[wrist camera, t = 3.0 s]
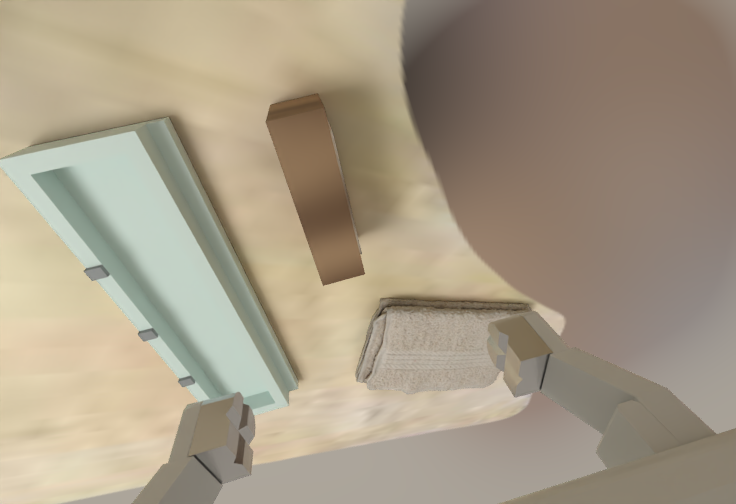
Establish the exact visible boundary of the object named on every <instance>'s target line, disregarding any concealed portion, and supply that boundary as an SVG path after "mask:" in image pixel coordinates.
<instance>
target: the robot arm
mask: <svg viewBox="0 0 736 504" xmlns="http://www.w3.org/2000/svg"><path fill="white" fill-rule="evenodd" d="M488 332H489V333H490V337H489V338H488V339H487V349H488V353H489V356H490V358H491V360H492V362H493V364H494V365H495V367H496V368H498V369H499V370H501V371H503V372H504V377H503V380H504V381H505V383H506V384H507V386H508V388H509V389H510V391H511V392H512V394H513V395H514V397H519V396H523V395H527V394H531V393H534V392H538V391H541V393H542V394H544V395H545V396H547V397H548V398H550V399H551V400H553V401H554V402H556V403H557V404H559V405H560V406H562V407H563V408H565V409H566V410H568V411H569V412H571V413H572V414H574V415H575V416H577V417H578V418H580V419H581V420H582V421H584V422H585V423H587V424H588V425H590V426H591V427H593V428H594V429H596V430H597V431H599V432H600V433H602V434H603V436H602V438H601V440H600V442H599V444H598V446H597V450H596V453H597V455H598V456H599V458H600V459H601V460H602V462H603V463H604V464H605V466H606V467H607V469H606V470H603V471H599V472H596V473H593V474H590V475H587V476H584V477H581V478H577V479H574V480H571V481H568V482H565V483H562V484H558V485H556V486H552V487H549V488H546V489H543V490H540V491H537V492H533V493H530V494H527V495H524V496H521V497H518V498H514V499H511V500H508V501H505V502H502V503H499V504H736V428H735V429H732V430H729V431H725V432H722V433H719V434H716V433H715V432H714V431H713V430H712V429H711V428H710V427H709V426H707V425H706V424H705V423H704V422H703V421H702V420H701V419H700V418H699V417H697V415H696V414H694V413H693V412H692V411H691V410H690V409H689V408H688V407H687V406H686V405H685V404H683V402H681V401H680V400H679V399H678V398H677V397H676V396H675V395H673V393H672V392H671V391H670V390H668V389H667V388H665V387H663V386H661V385H659V384H656V383H654V382H652V381H650V380H647V379H645V378H643V377H641V376H638V375H636V374H634V373H632V372H629V371H627V370H625V369H623V368H620V367H618V366H616V365H614V364H612V363H609V362H607V361H605V360H603V359H600V358H598V357H596V356H594V355H592V354H589V353H587V352H585V351H583V350H580V349H578V348H576V347H574V348H570V347H569V346H568V345H567V344H566V343H565V342H564V341H563V340H562V338H561V337H560V336H559V335H558V334H557V333H556V332H555V331H554V330H553V329H552V328H551V327H550V325H549V324H548V323H547V322H546V321H545V320H544V319H543V318H542V317H541V316H540V315H539V314H538V313H537V312H536V311H530V312H526V313H523V314H519V315H514V316H511V317H507V318H504V319H500V320H497V321H493V322H490V323H489V325H488ZM243 400H244V397H243V396H242V394H241V393H240V392H236V393H232V394H228V395H224V396H220V397H216V398H212V399H208V400H204V401H200V402H196V403H192V404H189V405H187V406H186V408H185V409H184V411H183V414H182V417H181V421H180V424H179V427H178V431H177V434H176V438H175V441H174V444H173V448H172V451H171V455H170V458H169V461H168V463H166V464H163V465H162V466H161V467H160V469H159V470H158V471H157V473H156V474H155V475H154V476H153V478H152V479H151V480H150V481H149V483H148V484H147V485H146V486H145V488H144V489H143V490H142V491H141V493H140V494H139V495H138V496H137V498H136V499H135V500H134V501H133V503H132V504H213V503H214V501H215V499H216V497H217V496H218V494H219V492H220V490H221V488H222V484H224V483H228V482H231V481H234V480H237V479H240V478H243V477H246V476H249V475H251V469H252V459H253V450H252V449H251V448H250V446H249V444H250V443H251V441H252V439H253V438H254V436H255V419H254V414H253V411H252V409H251V408H250V406H249V405H246V404H243Z"/></svg>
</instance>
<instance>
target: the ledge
mask: <svg viewBox="0 0 736 504" xmlns="http://www.w3.org/2000/svg"><path fill="white" fill-rule="evenodd" d="M0 167H1V168H2V169H3V171H4V172H5V173H6V174H7V175H8V176H9V178H10V179H11V180H12V181H13V182H14V184H15V185H16V186H17V187H18V188H19V189H20V191H21V192H22V193H23V194H24V195H25V197H26V198H27V199H28V200H29V201H30V203H31V204H32V205H33V206H34V207H35V208H36V210H37V211H38V212H39V213H40V214H41V216H42V217H43V218H44V219H45V220H46V221H47V223H48V224H49V225H50V226H51V227H52V229H53V230H54V231H55V232H56V233H57V235H58V236H59V237H60V238H61V239H62V240H63V242H64V243H65V244H66V245H67V246H68V248H69V249H70V250H71V251H72V252H73V254H74V255H75V256H76V257H77V258H78V259H79V261H80V262H81V263H82V264H83V265H84V267H85V268H86V269H85V270H84V272H85V273H86V275H87V276H88V277H89V278H90V279H91V280H92V281H94V280H96V281H97V282H98V283H99V284H100V286H101V287H102V288H103V289H104V290H105V291H106V293H107V294H108V295H109V296H110V297H111V299H112V300H113V301H114V302H115V303H116V304H117V306H118V307H119V308H120V309H121V310H122V312H123V313H124V314H125V315H126V316H127V318H128V319H129V320H130V321H131V322H132V323H133V325H134V326H135V327H136V328H137V329H138V331H139V333H138V335H139V337H140V338H141V339H142V340H143V341H148V342H149V344H150V345H151V346H152V347H153V348H154V350H155V351H156V352H157V353H158V354H159V355H160V357H161V358H162V359H163V360H164V361H165V363H166V364H167V365H168V366H169V367H170V369H171V370H172V371H173V372H174V373H175V374H176V376H177V377H178V378H179V381H178V382H179V383H180V385H181V386H182V387H187V389H188V390H189V391H190V392H191V393H192V395H193V396H194V397H195V398H196V399H197V401H198V402H200V401H204V400H208V399H212V398H216V397H220V396H224V395H228V394H232V393H236V392H240V393H241V394H242V396H243V397H244V400H243V404H246V405H249V406H250V408H251V409H252V411H253V414H254V415H258V414H261V413H265V412H268V411H272V410H275V409H279V408H282V407H286V406H289V391H292V390H295V389H298V380H297V377H296V375H295V373H294V371H293V369H292V367H291V365H290V363H289V361H288V359H287V357H286V355H285V353H284V351H283V349H282V347H281V345H280V343H279V341H278V339H277V337H276V335H275V333H274V331H273V329H272V326H271V324H270V322H269V320H268V318H267V316H266V314H265V312H264V310H263V308H262V306H261V304H260V302H259V300H258V298H257V296H256V294H255V292H254V290H253V288H252V286H251V284H250V282H249V280H248V278H247V275H246V273H245V271H244V269H243V267H242V265H241V263H240V261H239V259H238V257H237V255H236V253H235V251H234V249H233V247H232V245H231V243H230V241H229V239H228V237H227V235H226V233H225V231H224V229H223V227H222V224H221V222H220V220H219V218H218V216H217V214H216V212H215V210H214V208H213V206H212V204H211V202H210V200H209V198H208V196H207V194H206V192H205V190H204V188H203V186H202V184H201V182H200V180H199V178H198V176H197V173H196V171H195V169H194V167H193V165H192V163H191V161H190V159H189V157H188V155H187V153H186V151H185V149H184V147H183V145H182V143H181V141H180V139H179V137H178V135H177V133H176V131H175V129H174V127H173V125H172V123H171V120H170V118H169V117H165V118H160V119H156V120H151V121H146V122H142V123H137V124H132V125H128V126H123V127H118V128H114V129H109V130H104V131H100V132H95V133H90V134H86V135H81V136H76V137H72V138H67V139H62V140H58V141H53V142H48V143H44V144H39V145H34V146H30V147H27V148H24V149H22V150H20V151H17V152H15V153H13V154H10V155H8V156H5V157H3V158H1V159H0Z"/></svg>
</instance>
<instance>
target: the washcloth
mask: <svg viewBox="0 0 736 504" xmlns="http://www.w3.org/2000/svg"><path fill="white" fill-rule="evenodd" d="M530 311H532V310H531V308H530V307H529V305H528V304H526V305H525V304H522V303H521V304H513V303H512V304H511V303H510V304H505V303H486V302H485V303H482V302H473V303H472V302H468V301H466V302H465V301H464V302H441V301H434V302H431V301H423V300H415V299H414V300H405V299H401V300H400V299H391V298H381V299H380V306H379V309H378V310H377V311H376V313H375V314H374V315H373V316H372V319H371V322H370V325H369V328H368V331H367V335H366V341H365V345H364V347H363V350H362V353H361V357H360V360H359V363H358V366H357V370H356V374H355V376H356V378H357V382H361V383H363V382H364V383H367V388H368V389H369V390H375V389H386V390H399V391H403V392H404V393H406V394H413V393H416V392H421V391H431V390H432V391H433V390H438V391H439V390H440V391H441V390H443V391H444V390H445V391H447V390H457V389H464V388H483V387H486V386H489V385H491V384H492V383H493V382H494V381H495V380H496V378H497V376H498V374H499V372H500V371H501V370H499V369H498V368H496V367H495V365H494V364H493V362H492V360H491V358H490V356H489V353H488V349H487V339H488V338H489V337H490V333H489V332H488V325H489V323H490V322H493V321H497V320H500V319H504V318H507V317H511V316H514V315H519V314H523V313H526V312H530Z"/></svg>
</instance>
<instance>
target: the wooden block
mask: <svg viewBox="0 0 736 504" xmlns="http://www.w3.org/2000/svg"><path fill="white" fill-rule="evenodd" d="M266 124H267V127H268V129H269V132H270V135H271V138H272V141H273V144H274V147H275V149H276V152H277V155H278V158H279V161H280V164H281V167H282V170H283V172H284V175H285V178H286V181H287V184H288V187H289V190H290V192H291V195H292V198H293V201H294V204H295V207H296V210H297V212H298V215H299V218H300V221H301V224H302V227H303V230H304V232H305V235H306V238H307V241H308V244H309V247H310V250H311V252H312V255H313V258H314V261H315V264H316V267H317V270H318V272H319V275H320V278H321V281H322V284H323V286H324V285H327V284H331V283H334V282H338V281H342V280H345V279H349V278H353V277H356V276H360V275H364V274H365V272H364V268H363V264H362V260H361V256H360V254H362V252H361V248H360V244H359V240H358V235H357V231H356V227H355V223H354V219H353V215H352V210H351V206H350V202H349V198H348V194H347V190H346V185H345V181H344V177H343V173H342V169H341V164H340V160H339V156H338V152H337V148H336V144H335V139H334V135H333V131H332V129H331V126H330V124H329V122H328V120H327V116H326V112H325V108H324V106H323V104H322V102H321V100H320V98H319V96H318V94H314V95H310V96H306V97H302V98H297V99H293V100H289V101H285V102H281V103H276V104H272V105H270V108H269V112H268V116H267V119H266Z"/></svg>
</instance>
